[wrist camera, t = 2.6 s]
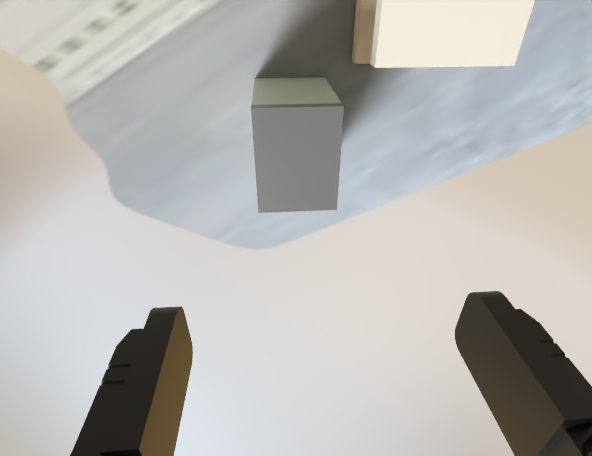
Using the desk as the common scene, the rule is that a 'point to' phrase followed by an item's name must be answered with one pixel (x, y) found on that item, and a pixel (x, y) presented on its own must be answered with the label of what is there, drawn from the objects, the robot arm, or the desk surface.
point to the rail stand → (363, 31)
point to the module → (296, 144)
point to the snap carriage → (448, 32)
